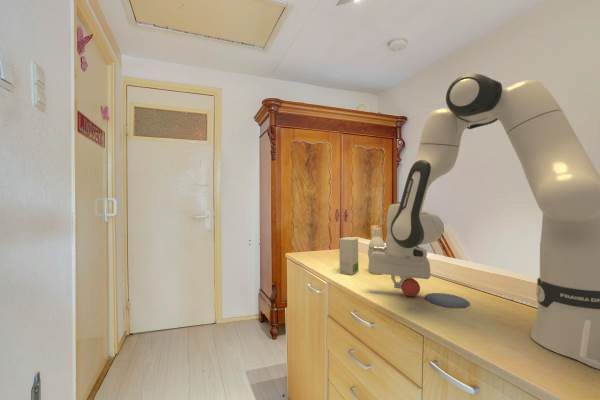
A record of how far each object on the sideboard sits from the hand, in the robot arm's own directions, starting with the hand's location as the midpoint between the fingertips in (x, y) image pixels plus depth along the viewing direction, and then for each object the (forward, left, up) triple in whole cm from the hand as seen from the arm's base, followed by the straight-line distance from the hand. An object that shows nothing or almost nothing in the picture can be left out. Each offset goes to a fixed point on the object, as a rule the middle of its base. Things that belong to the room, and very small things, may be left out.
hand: (397, 287), depth 96 cm
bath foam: (+9, -28, -3) cm, 29 cm away
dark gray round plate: (-15, 0, -2) cm, 15 cm away
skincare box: (+21, -24, -3) cm, 32 cm away
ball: (-4, 0, +1) cm, 4 cm away
